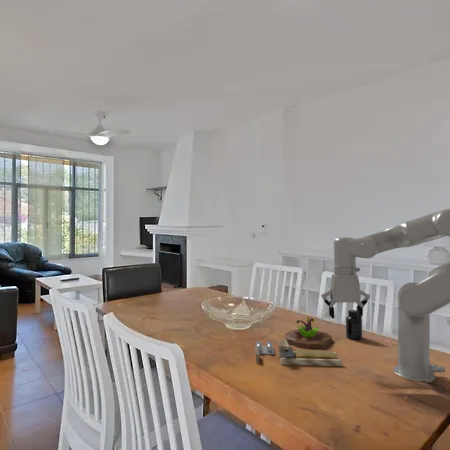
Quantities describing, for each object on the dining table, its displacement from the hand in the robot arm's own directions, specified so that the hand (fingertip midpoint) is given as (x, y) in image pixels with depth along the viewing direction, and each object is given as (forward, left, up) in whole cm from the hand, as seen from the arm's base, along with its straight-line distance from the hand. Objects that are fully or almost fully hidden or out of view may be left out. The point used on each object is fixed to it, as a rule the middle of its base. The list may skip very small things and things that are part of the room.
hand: (345, 317), depth 130 cm
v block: (+29, -10, -16) cm, 35 cm away
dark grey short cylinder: (+22, 0, -16) cm, 27 cm away
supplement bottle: (-11, -29, -17) cm, 36 cm away
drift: (+11, 0, -17) cm, 20 cm away
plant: (+10, -24, -17) cm, 31 cm away
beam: (+13, 0, -16) cm, 21 cm away
